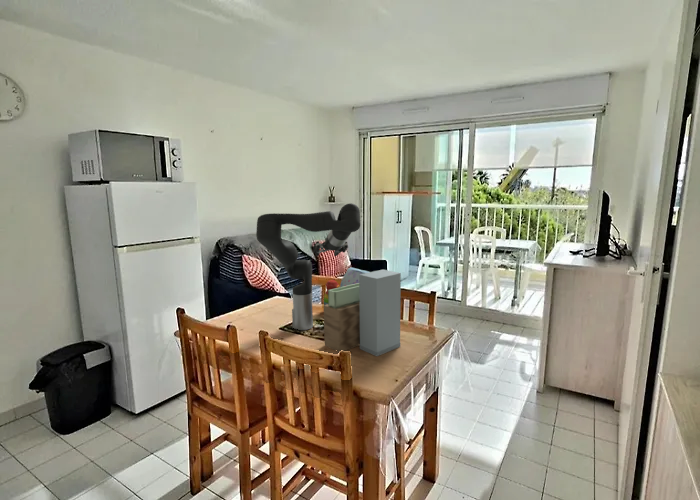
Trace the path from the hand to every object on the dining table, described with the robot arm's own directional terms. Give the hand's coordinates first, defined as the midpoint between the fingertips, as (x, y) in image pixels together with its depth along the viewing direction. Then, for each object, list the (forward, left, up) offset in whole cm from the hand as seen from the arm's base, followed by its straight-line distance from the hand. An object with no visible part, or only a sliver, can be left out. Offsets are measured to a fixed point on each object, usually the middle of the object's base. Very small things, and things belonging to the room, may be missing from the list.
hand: (325, 254), depth 169 cm
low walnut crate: (+12, -4, -38) cm, 40 cm away
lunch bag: (+14, +22, -38) cm, 47 cm away
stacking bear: (-5, +35, -38) cm, 52 cm away
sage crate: (+12, -4, -20) cm, 24 cm away
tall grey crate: (+24, -9, -38) cm, 46 cm away
